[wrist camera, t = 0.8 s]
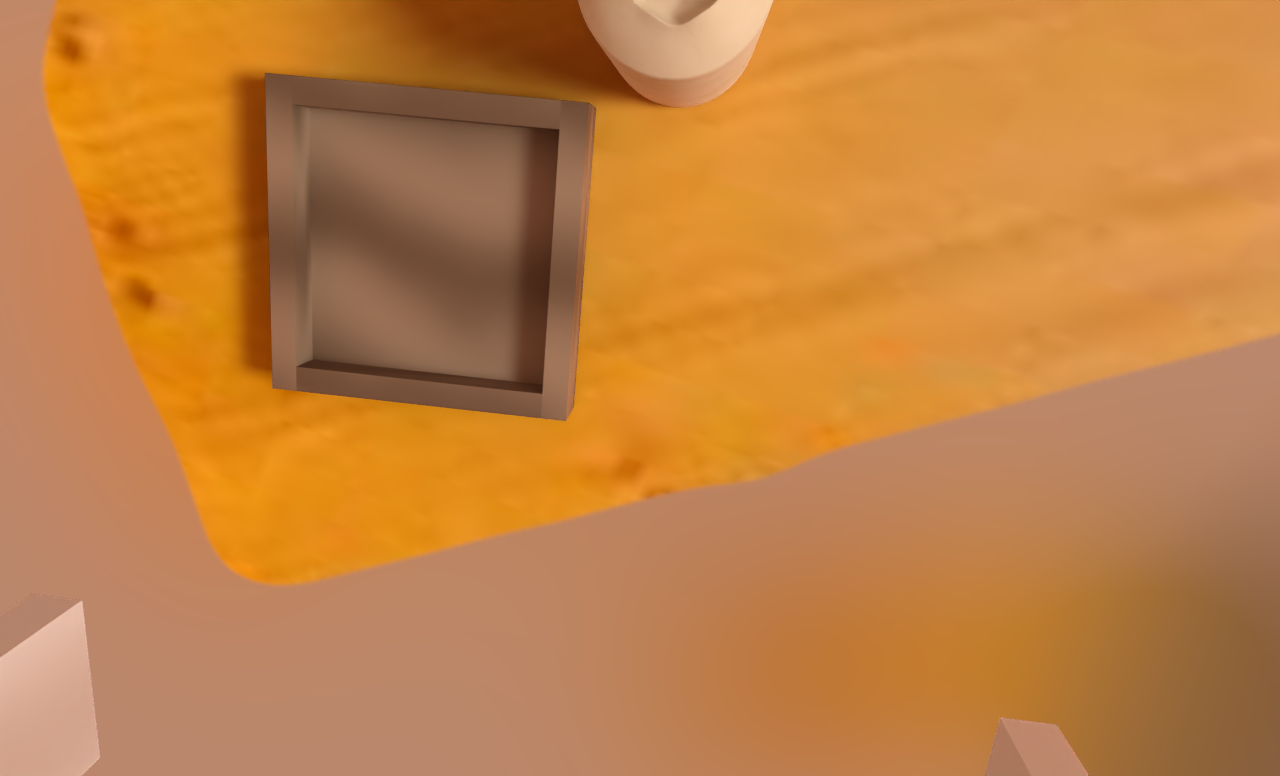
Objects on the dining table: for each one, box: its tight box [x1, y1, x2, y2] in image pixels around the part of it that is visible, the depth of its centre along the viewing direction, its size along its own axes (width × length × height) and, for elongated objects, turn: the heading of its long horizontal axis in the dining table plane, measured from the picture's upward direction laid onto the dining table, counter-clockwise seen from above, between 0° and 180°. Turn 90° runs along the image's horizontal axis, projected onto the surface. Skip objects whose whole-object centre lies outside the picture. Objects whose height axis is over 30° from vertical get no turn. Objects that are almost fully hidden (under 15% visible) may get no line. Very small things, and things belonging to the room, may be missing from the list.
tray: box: [265, 73, 596, 421], centre depth 31 cm, size 12×12×2 cm
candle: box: [578, 0, 773, 107], centre depth 25 cm, size 6×6×10 cm
